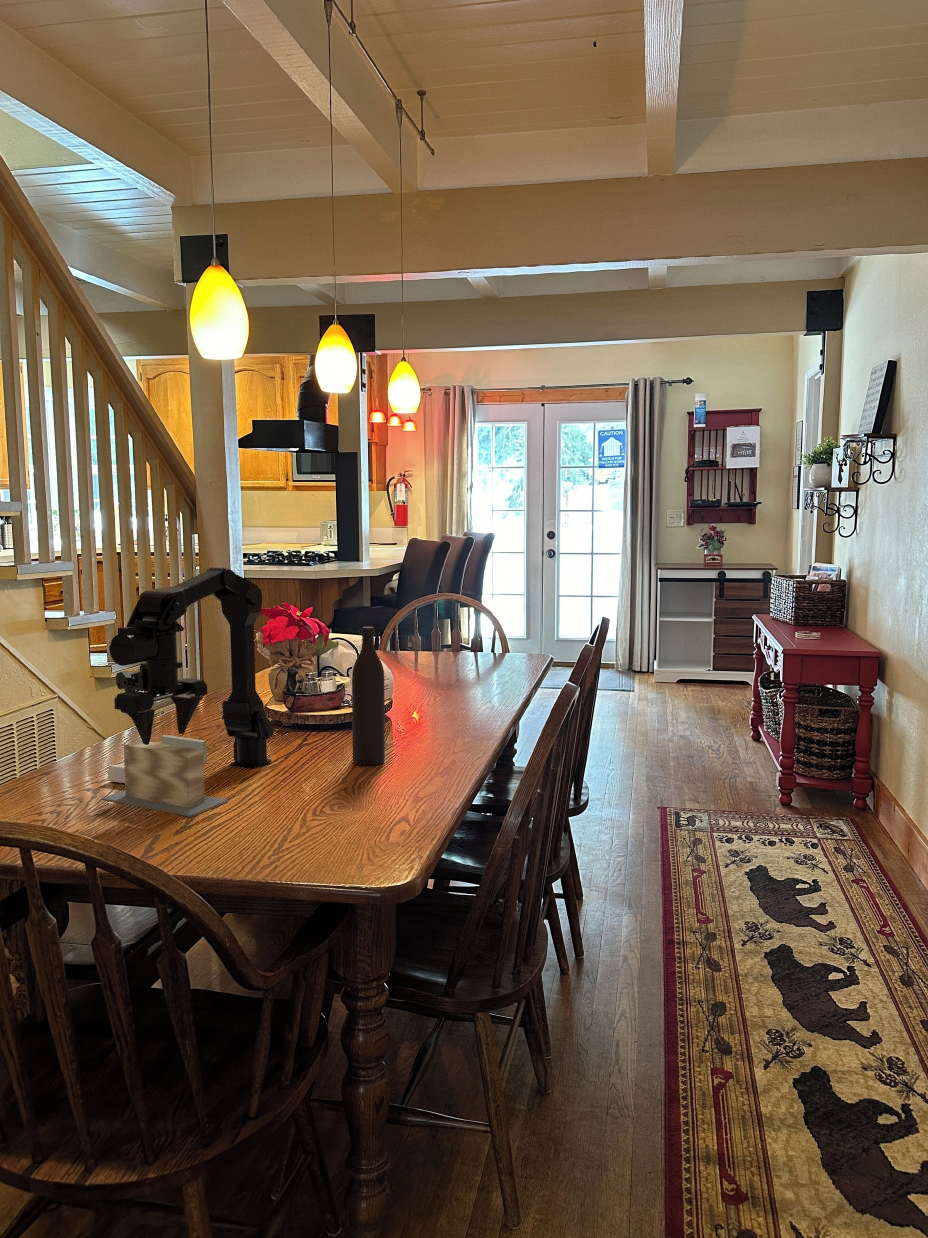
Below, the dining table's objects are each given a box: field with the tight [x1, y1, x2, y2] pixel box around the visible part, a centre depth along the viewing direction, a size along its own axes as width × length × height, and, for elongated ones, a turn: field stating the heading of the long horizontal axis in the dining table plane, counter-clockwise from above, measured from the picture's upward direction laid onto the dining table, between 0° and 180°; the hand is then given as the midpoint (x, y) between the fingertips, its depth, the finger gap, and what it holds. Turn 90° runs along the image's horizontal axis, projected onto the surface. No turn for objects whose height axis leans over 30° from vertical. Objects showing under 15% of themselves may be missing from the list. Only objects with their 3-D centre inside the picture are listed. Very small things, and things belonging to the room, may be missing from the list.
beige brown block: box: [123, 739, 206, 808], centre depth 175 cm, size 16×4×10 cm, turn 64°
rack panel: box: [160, 734, 208, 765], centre depth 204 cm, size 12×1×5 cm, turn 64°
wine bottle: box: [351, 626, 386, 767], centre depth 202 cm, size 7×7×30 cm
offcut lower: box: [107, 763, 125, 784], centre depth 187 cm, size 12×4×3 cm, turn 69°
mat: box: [101, 789, 229, 818], centre depth 176 cm, size 22×10×1 cm, turn 64°
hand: (164, 739), depth 175 cm, fingers open, 9 cm apart
